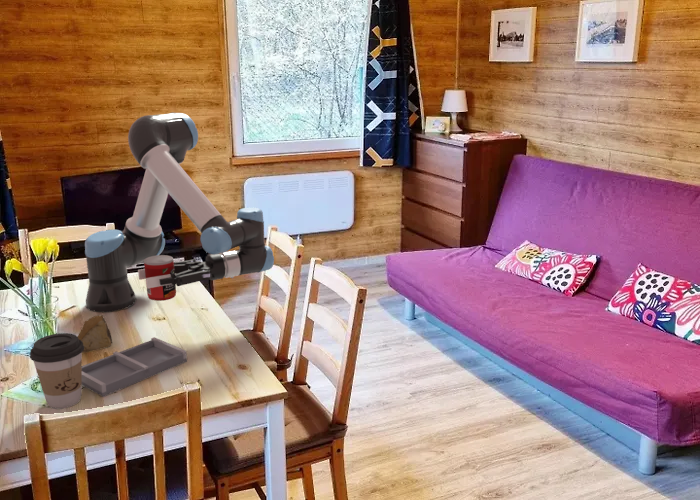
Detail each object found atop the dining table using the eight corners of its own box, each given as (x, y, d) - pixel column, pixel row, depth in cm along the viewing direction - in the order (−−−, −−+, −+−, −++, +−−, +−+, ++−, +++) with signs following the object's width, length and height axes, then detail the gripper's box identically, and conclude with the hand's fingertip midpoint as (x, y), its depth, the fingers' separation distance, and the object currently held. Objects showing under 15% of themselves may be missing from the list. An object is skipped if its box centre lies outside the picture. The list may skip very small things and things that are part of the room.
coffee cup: (51, 419, 143) (41, 356, 138) (28, 402, 150) (19, 342, 146) (100, 399, 151) (92, 340, 147) (76, 384, 158) (68, 327, 154)
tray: (72, 379, 161) (70, 368, 160) (155, 347, 178) (154, 337, 178) (102, 396, 152) (101, 385, 151) (187, 361, 170) (186, 350, 169)
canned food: (169, 302, 178) (165, 263, 175) (142, 300, 180) (138, 262, 177) (181, 292, 185) (178, 255, 182) (155, 291, 187) (151, 254, 184)
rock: (67, 352, 170) (106, 344, 172) (63, 321, 173) (102, 313, 175) (79, 360, 180) (116, 352, 182) (75, 331, 183) (112, 323, 185)
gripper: (235, 287, 182) (154, 303, 171) (210, 268, 199) (134, 281, 188) (234, 262, 180) (151, 276, 169) (209, 245, 197) (132, 256, 186)
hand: (142, 279), depth 179 cm, fingers closed on canned food, 8 cm apart
